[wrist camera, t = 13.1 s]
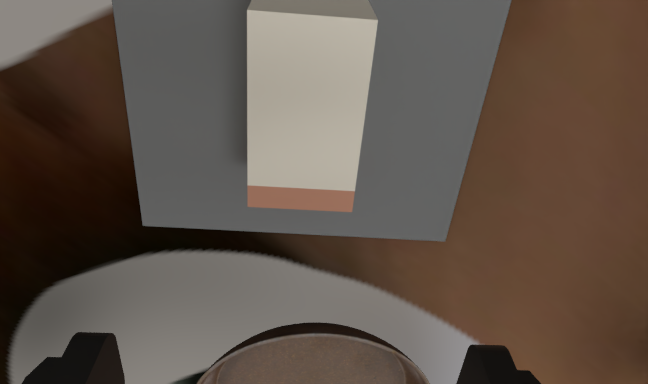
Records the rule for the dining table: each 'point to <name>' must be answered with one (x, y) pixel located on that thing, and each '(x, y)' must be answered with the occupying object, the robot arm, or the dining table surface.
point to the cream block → (307, 101)
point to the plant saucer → (314, 358)
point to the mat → (231, 116)
